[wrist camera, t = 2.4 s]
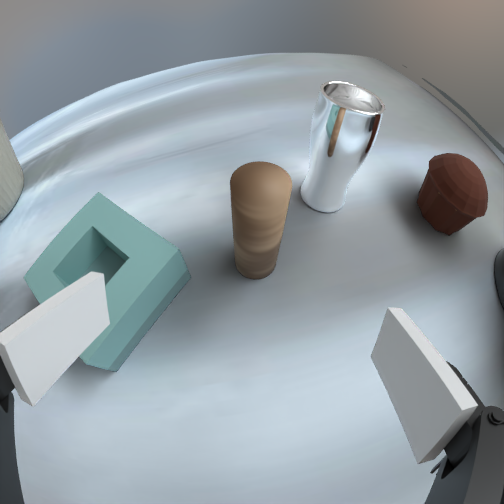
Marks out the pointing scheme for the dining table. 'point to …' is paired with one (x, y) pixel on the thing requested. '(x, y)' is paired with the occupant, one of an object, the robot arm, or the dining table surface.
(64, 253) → the socket block
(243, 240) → the dowel pin
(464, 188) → the muffin
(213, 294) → the dining table surface
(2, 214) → the canister
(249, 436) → the dining table surface
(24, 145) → the dining table surface
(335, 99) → the beer glass
